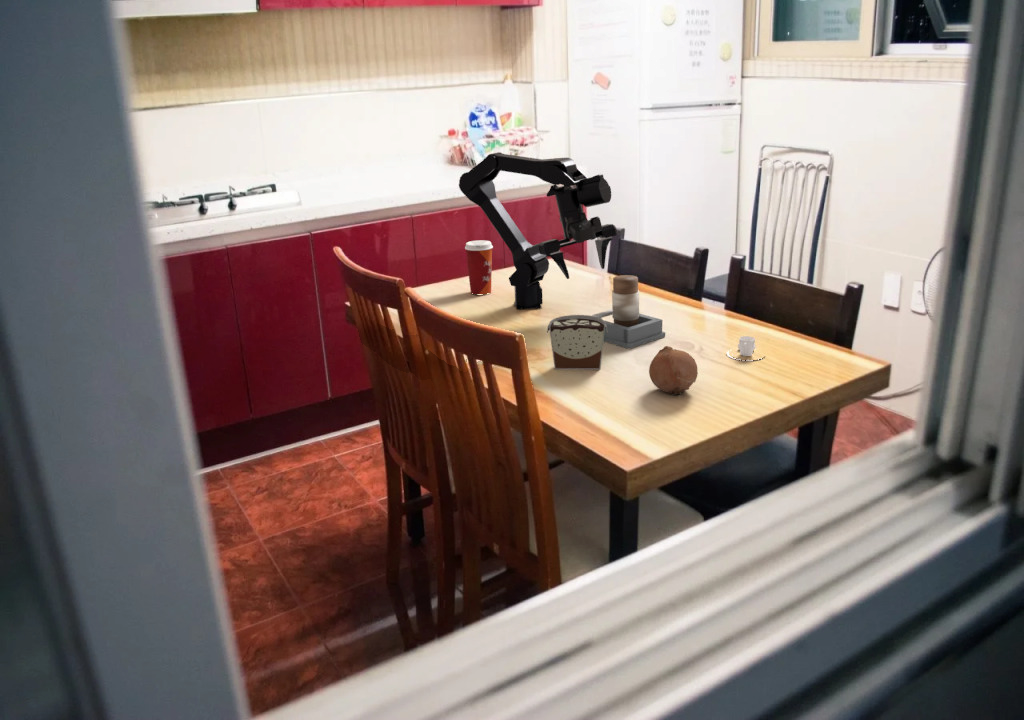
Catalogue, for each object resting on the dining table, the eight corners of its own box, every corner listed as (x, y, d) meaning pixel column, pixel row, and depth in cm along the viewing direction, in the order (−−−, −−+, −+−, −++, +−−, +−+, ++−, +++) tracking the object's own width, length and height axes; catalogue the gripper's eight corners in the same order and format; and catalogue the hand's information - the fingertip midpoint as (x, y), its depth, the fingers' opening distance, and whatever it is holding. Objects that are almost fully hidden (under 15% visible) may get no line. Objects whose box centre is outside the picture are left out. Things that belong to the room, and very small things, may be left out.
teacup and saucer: (741, 347, 181) (742, 329, 180) (774, 355, 176) (775, 336, 175) (718, 357, 176) (719, 339, 174) (752, 366, 170) (753, 347, 169)
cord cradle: (589, 336, 190) (589, 314, 188) (626, 325, 197) (627, 304, 196) (628, 349, 181) (628, 326, 180) (665, 336, 188) (666, 314, 187)
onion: (657, 400, 162) (644, 352, 162) (702, 388, 160) (690, 340, 160) (655, 401, 153) (642, 351, 153) (703, 389, 151) (690, 338, 152)
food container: (607, 359, 176) (607, 313, 172) (607, 369, 170) (607, 322, 167) (549, 359, 177) (548, 314, 174) (547, 369, 171) (546, 323, 168)
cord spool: (611, 335, 187) (610, 281, 183) (614, 327, 193) (613, 274, 189) (638, 336, 186) (637, 281, 182) (640, 327, 191) (640, 274, 187)
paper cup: (494, 296, 225) (492, 245, 221) (466, 297, 226) (463, 246, 221) (495, 288, 233) (493, 239, 228) (468, 289, 233) (465, 240, 228)
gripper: (543, 220, 191) (559, 286, 194) (618, 200, 194) (632, 265, 197) (531, 220, 202) (546, 283, 205) (602, 201, 205) (616, 263, 208)
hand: (585, 273), depth 203 cm, fingers open, 9 cm apart
